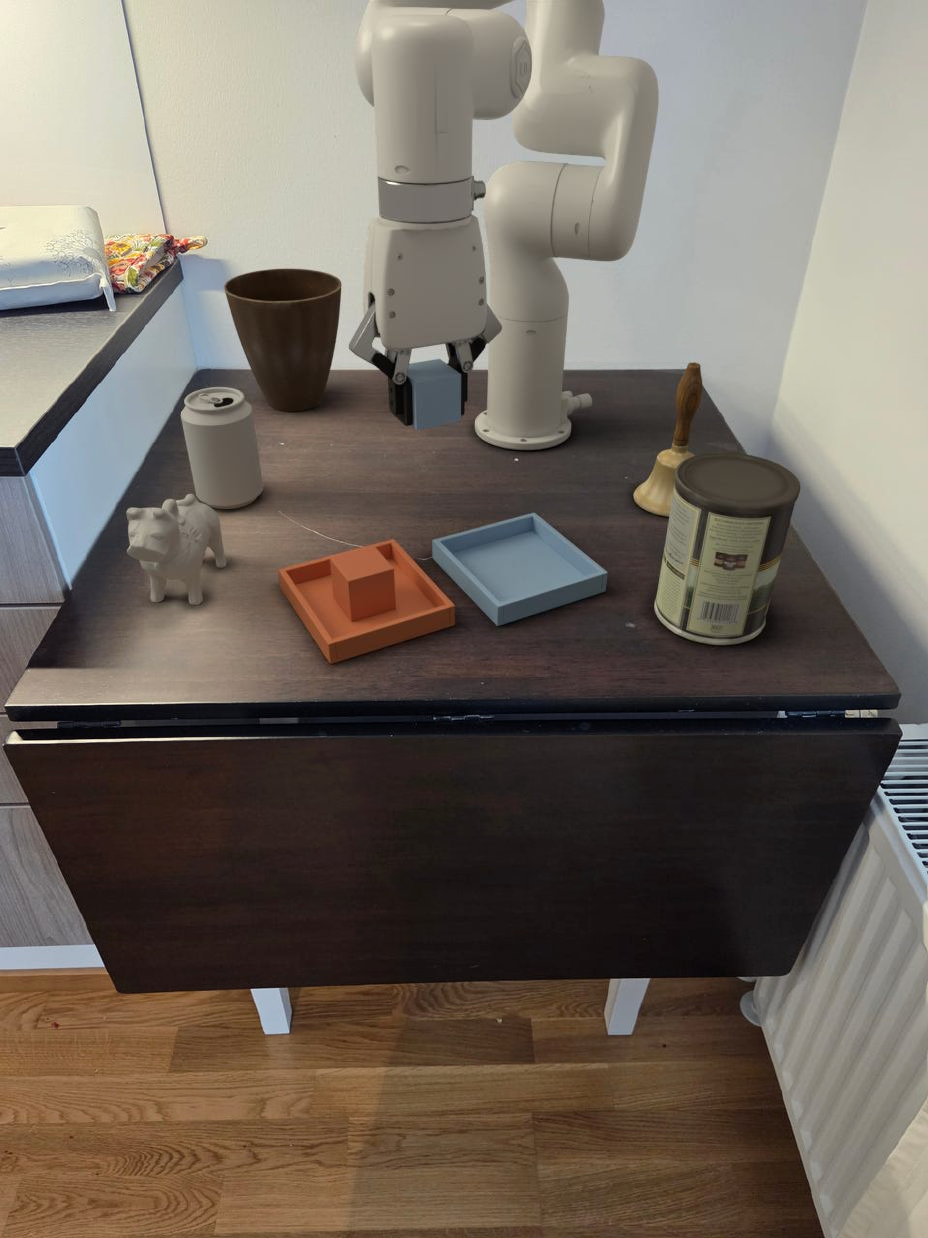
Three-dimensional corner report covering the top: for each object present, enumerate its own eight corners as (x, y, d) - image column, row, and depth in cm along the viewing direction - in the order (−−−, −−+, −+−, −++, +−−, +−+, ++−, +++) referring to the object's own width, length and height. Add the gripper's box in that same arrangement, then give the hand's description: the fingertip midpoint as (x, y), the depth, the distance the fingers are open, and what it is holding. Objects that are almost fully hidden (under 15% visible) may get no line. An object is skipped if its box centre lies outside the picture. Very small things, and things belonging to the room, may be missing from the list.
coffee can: (728, 575, 87) (757, 444, 79) (787, 635, 79) (826, 497, 71) (634, 591, 85) (654, 458, 76) (685, 655, 77) (713, 514, 68)
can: (248, 516, 96) (232, 412, 89) (185, 508, 97) (164, 406, 90) (274, 484, 102) (260, 385, 95) (214, 478, 103) (196, 380, 96)
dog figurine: (130, 626, 80) (102, 524, 73) (183, 551, 90) (162, 457, 83) (186, 630, 79) (163, 528, 73) (233, 555, 89) (215, 460, 83)
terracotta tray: (394, 557, 89) (393, 538, 88) (455, 625, 80) (455, 605, 79) (280, 588, 85) (277, 569, 83) (330, 664, 75) (328, 644, 74)
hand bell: (720, 499, 100) (748, 362, 90) (682, 526, 95) (708, 384, 85) (658, 476, 104) (678, 344, 95) (619, 501, 99) (636, 363, 90)
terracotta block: (376, 585, 84) (374, 545, 82) (396, 608, 81) (394, 568, 79) (333, 597, 83) (329, 557, 80) (351, 622, 79) (348, 581, 77)
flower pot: (364, 387, 126) (356, 272, 117) (328, 428, 115) (317, 304, 105) (267, 377, 129) (253, 264, 120) (223, 417, 117) (203, 295, 108)
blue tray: (533, 530, 94) (534, 512, 93) (605, 591, 85) (608, 572, 83) (432, 558, 89) (431, 539, 88) (497, 626, 80) (498, 607, 78)
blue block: (440, 404, 83) (439, 358, 81) (461, 421, 80) (461, 374, 78) (396, 412, 82) (394, 365, 79) (416, 430, 79) (415, 382, 76)
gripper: (495, 184, 76) (490, 386, 87) (309, 201, 70) (328, 416, 80) (539, 200, 70) (528, 414, 81) (342, 220, 64) (358, 448, 75)
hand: (428, 413), depth 81 cm, fingers closed on blue block, 4 cm apart
